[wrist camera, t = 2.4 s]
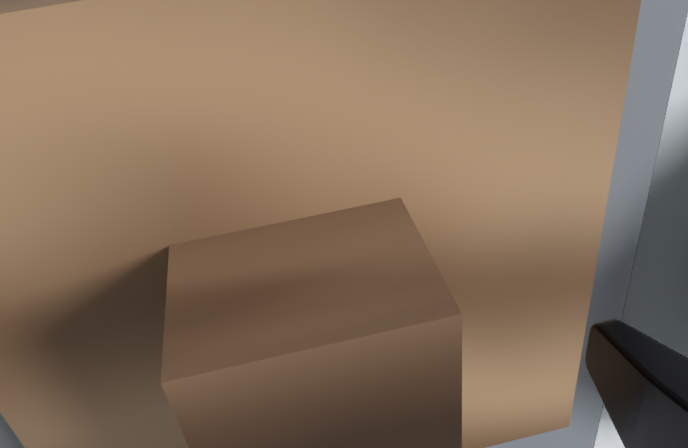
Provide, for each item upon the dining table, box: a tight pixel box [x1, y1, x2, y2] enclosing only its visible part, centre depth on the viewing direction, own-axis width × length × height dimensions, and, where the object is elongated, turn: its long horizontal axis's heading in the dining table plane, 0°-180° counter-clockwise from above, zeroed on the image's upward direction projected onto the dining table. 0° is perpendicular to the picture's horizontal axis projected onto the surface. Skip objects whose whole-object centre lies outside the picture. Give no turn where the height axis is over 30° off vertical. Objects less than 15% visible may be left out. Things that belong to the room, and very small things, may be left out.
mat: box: [0, 0, 688, 448], centre depth 12 cm, size 18×15×1 cm
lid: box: [0, 0, 641, 448], centre depth 11 cm, size 12×12×4 cm
